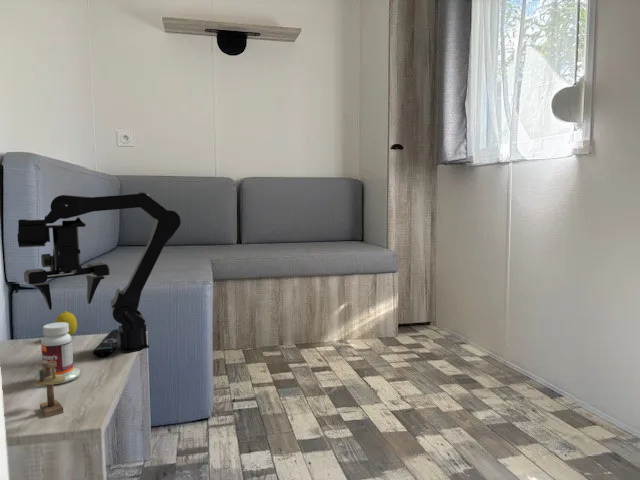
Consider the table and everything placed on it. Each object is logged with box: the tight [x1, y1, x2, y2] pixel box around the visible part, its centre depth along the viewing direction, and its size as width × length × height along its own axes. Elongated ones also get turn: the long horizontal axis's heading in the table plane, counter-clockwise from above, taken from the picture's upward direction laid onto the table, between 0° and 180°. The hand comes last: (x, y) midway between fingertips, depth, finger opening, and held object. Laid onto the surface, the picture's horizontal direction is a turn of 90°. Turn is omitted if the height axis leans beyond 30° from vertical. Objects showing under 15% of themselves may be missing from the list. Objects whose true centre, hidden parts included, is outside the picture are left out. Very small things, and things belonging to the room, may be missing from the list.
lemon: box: [55, 310, 78, 337], centre depth 147 cm, size 6×6×8 cm
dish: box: [35, 366, 81, 385], centre depth 117 cm, size 9×9×1 cm
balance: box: [34, 361, 65, 418], centre depth 101 cm, size 11×4×10 cm, turn 41°
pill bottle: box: [40, 322, 74, 376], centre depth 117 cm, size 6×6×11 cm
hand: (70, 306), depth 131 cm, fingers open, 9 cm apart
